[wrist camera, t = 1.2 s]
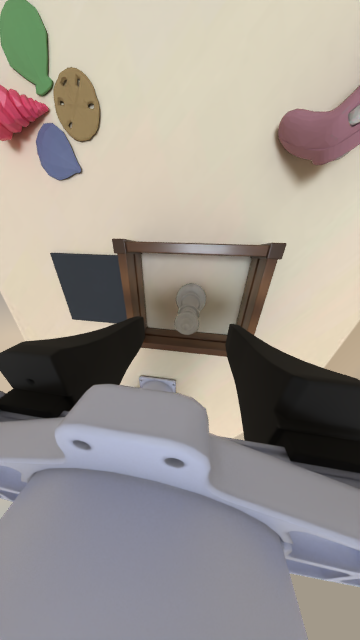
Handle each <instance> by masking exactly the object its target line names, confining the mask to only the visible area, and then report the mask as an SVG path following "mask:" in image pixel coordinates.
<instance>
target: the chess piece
mask: <svg viewBox="0 0 360 640" xmlns="http://www.w3.org/2000/svg"><path fill="white" fill-rule="evenodd" d="M176 302H177V306H178V307H179V310H178V316H177V317H176V318H175V328H176V329H177V331H178V332H180V333H181V334H184V335H190V334H193V333H194V332H196V331H197V329H198V327H199V320H198V318H199V312H200V311H201V310H202V309H203V308H204V306H205V303H206V294H205V292H204V290H203V288H202V287H201V286H199V285H197V284H194V283H190V284H186V285H184V286H182V287H181V288H180V290H179V291H178V294H177V297H176Z"/></svg>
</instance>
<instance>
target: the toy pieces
mask: <svg viewBox="0 0 360 640" xmlns="http://www.w3.org/2000/svg"><path fill="white" fill-rule="evenodd" d="M0 38H1V46H2V48H3V50H4V53H5V55H6V57H7V60H8V62H9V64H10V66H11V67H12V68H13V69H15V70H16V71H17V72H18V73H20V74H21V75H22V76H23V77H25V78H26V79H27V80H29V81H30V82H32V83H34V84H35V85H36V94H38V95H41V96H43V95H44V94H46V93H47V92H48V91H49V90H50V89H51V88H52V84H53V81H52V80H51V79H50V78H49V77H48V49H47V32H46V30H45V27H44V25H43V23H42V21H41V19H40V16H39V14H38V12H37V10H36V8H35V7H34V6H32V5H31V4H30V3H29V2H28V1H26V0H8V1H7V2H6V3H5V5H4V7H3V9H2V11H1V16H0ZM66 79H67V82H66V84H65V85H64V86H63V82H64V81H65V80H66ZM77 79H80V83H79V87H78V85H77ZM60 101H62V102H64V105H60ZM54 102H55V108H56V113H57V116H58V118H59V120H60V122H61V124H62V126H63V127H64V129H65V130H66V131H67V133H68V134H69V135H70V136H71V137H73V138H74V139H75V140H78V141H85V140H90V138H91V137H92V136H93V135H94V134H95V133H96V131H97V128H98V126H99V116H100V111H99V103H98V100H97V97H96V95H95V91H94V87H93V85H92V83H91V82H90V80H89V79H88V77H87V76H86V75H85V74H84V73H83V72H82V71H80V70H78V69H77V68H72V67H71V68H67V69H65V70H64V71H62V72H61V73H60V74H59V77H58V79H57V81H56V83H55V86H54ZM90 103H92V104H94V108H93V109H90V108H88V104H90ZM48 109H49V108H48V107H47V106H46V105H45V104H44V103H43V104H42V103H41V102H40V103H39V102H38V101H36V100H35V101H34V100H33V99H32V98H27V97H26V95H21V96H20V95H19V94H18V93H17V91H15V90H13V89H10V90H9V91H8V90H7V89H6V88H5V87H3V86H1V85H0V140H1V141H6V140H11V138H12V135H13V132H14V133H17V132H21V130H22V126H24V127H27V126H28V125H29V121H31V122H34V121H35V120H36V119H35V118H38V117H40V116H42V114H44V113H46V111H48ZM70 122H72V127H71V128H70V127H69V123H70ZM36 145H37V151H38V155H39V158H40V161H41V165H42V167H43V168H44V169H45V171H46V172H47V173H48V175H50V176H52V177H54V178H56V179H58V180H62V179H65V178H68V177H70V176H72V175H73V174H75V173H80V172H81V168H80V166H79V164H78V163H77V160H76V158H75V155H74V153H73V150H72V148H71V146H70V144H69V142H68V140H67V138H66V136H65V134H64V132H62V131H61V130H60V129H59V128H58V127H57V126H55V125H54V124H53V123H45V124H43V126H42V127H41V129H40V130H39V132H38V136H37V139H36Z"/></svg>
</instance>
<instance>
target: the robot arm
mask: <svg viewBox="0 0 360 640" xmlns="http://www.w3.org/2000/svg"><path fill="white" fill-rule="evenodd" d="M144 339H145V328H144V318H143V317H140V316H135V317H132V318H129V319H127V320H124V321H122V322H119V323H117V324H114V325H111V326H108V327H106V328H103V329H99V330H96V331H92V332H88V333H84V334H79V335H75V336H69V337H63V338H56V339H47V340H36V341H25V342H22V343H19V344H17V345H15V346H13V347H11V348H9V349H7V350H5V351H3V352H1V353H0V371H1V373H2V374H3V375H4V377H5V378H6V379H7V381H8V382H9V383H10V385H11V386H12V387H13V389H12V390H11V391H9V392H8V393H7V394H6V393H4V392H2V391H0V498H2V499H5V500H8V501H11V502H13V503H12V504H11V506H10V507H9V508H8V510H7V511H6V513H5V514H4V515H3V516H2V518H1V519H0V640H308V638H307V634H306V630H305V627H304V624H303V620H302V616H301V613H300V609H299V606H298V602H297V598H296V595H295V592H294V588H293V584H292V581H291V577H290V574H289V573H291V574H296V575H301V576H306V577H312V578H317V579H321V580H326V581H332V582H337V583H342V584H347V585H352V586H357V587H360V380H358V379H356V378H353V377H350V376H347V375H343V374H340V373H337V372H333V371H330V370H327V369H324V368H321V367H318V366H316V365H313V364H310V363H307V362H305V361H302V360H300V359H297V358H295V357H293V356H290V355H288V354H286V353H284V352H282V351H280V350H278V349H276V348H274V347H272V346H270V345H268V344H267V343H265V342H263V341H262V340H260V339H259V338H257V337H256V336H254V335H253V334H251V333H250V332H248V331H247V330H245V329H244V328H243V327H241V326H239V325H236V324H230V325H229V330H228V335H227V339H226V344H225V346H226V353H227V358H228V361H229V364H230V367H231V371H232V374H233V377H234V380H235V384H236V389H237V394H238V400H239V406H240V411H241V418H242V425H243V432H244V439H245V441H243V440H238V439H232V438H226V437H220V436H216V435H214V434H211V433H209V424H208V416H207V412H206V409H205V408H204V407H203V406H202V405H201V404H199V403H198V402H197V401H196V400H195V399H193V398H191V397H188V396H185V395H182V394H179V393H176V381H175V380H169V379H161V378H153V377H146V376H140V377H139V382H140V388H137V387H129V386H122V385H120V382H121V380H122V378H123V376H124V374H125V372H126V370H127V369H128V367H129V365H130V364H131V362H132V360H133V359H134V357H135V356H136V354H137V353H138V351H139V349H140V348H141V346H142V344H143V342H144Z"/></svg>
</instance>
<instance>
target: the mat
mask: <svg viewBox="0 0 360 640" xmlns="http://www.w3.org/2000/svg"><path fill="white" fill-rule="evenodd" d="M50 254H51V257H52V260H53V263H54V266H55V269H56V272H57V275H58V278H59V281H60V284H61V287H62V290H63V293H64V295H65V298H66V301H67V304H68V307H69V310H70V313H71V316H72V319H75V320H86V321H97V322H108V323H119V322H122V321H124V320H127V315H126V308H125V301H124V294H123V287H122V281H121V274H120V267H119V260H118V255H92V254H67V253H50Z"/></svg>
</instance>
